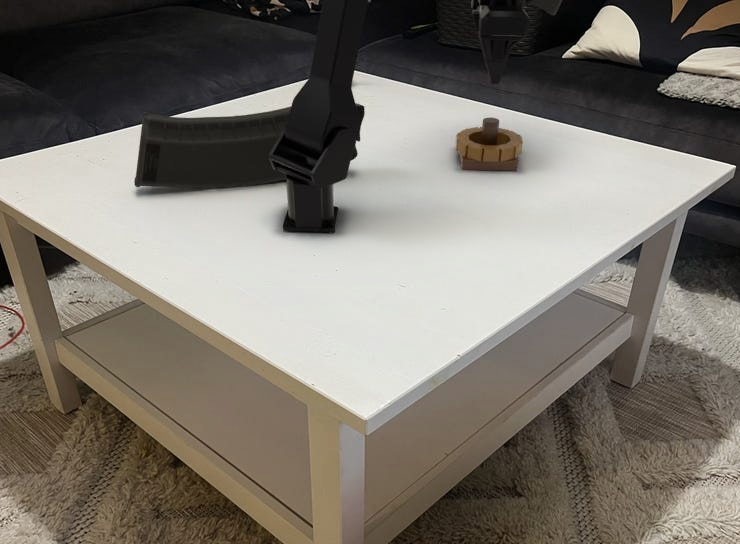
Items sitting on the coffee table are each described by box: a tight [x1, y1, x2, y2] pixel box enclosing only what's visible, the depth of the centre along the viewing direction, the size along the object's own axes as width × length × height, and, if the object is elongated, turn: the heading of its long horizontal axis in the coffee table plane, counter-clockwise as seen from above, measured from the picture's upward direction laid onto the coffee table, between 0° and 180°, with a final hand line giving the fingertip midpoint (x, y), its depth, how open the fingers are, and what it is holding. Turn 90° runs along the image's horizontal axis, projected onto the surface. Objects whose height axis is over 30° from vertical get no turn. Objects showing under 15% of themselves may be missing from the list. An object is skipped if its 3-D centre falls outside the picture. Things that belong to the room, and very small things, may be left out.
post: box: [459, 117, 519, 172], centre depth 108 cm, size 8×8×6 cm
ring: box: [455, 126, 524, 162], centre depth 108 cm, size 10×10×2 cm
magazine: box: [134, 106, 359, 189], centre depth 99 cm, size 17×3×30 cm
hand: (491, 74), depth 106 cm, fingers open, 9 cm apart
